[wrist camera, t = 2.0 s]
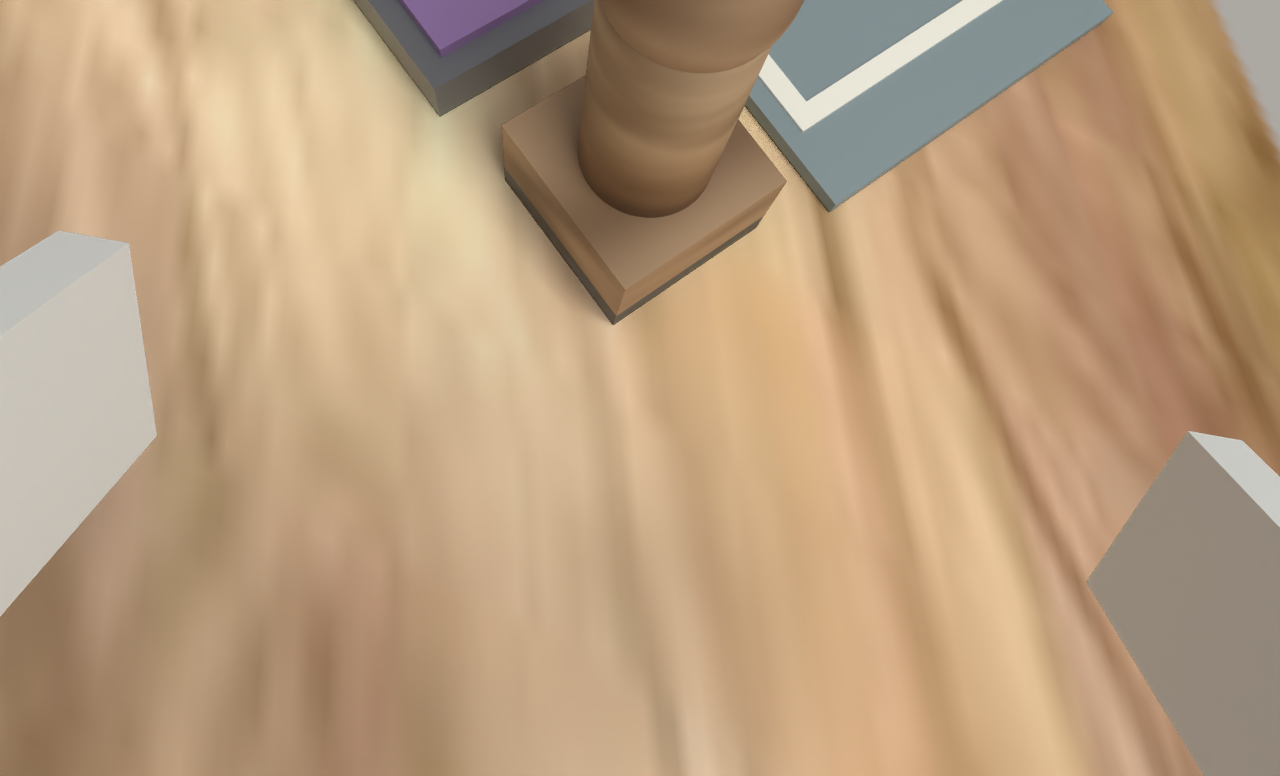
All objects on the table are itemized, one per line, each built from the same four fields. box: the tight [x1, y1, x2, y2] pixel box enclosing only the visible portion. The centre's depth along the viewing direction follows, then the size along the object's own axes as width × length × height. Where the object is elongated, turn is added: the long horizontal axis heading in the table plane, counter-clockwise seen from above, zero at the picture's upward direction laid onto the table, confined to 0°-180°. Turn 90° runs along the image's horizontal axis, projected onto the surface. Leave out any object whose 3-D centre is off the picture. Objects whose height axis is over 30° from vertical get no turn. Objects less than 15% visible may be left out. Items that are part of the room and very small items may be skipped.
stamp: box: [501, 0, 804, 325], centre depth 21 cm, size 6×6×14 cm
